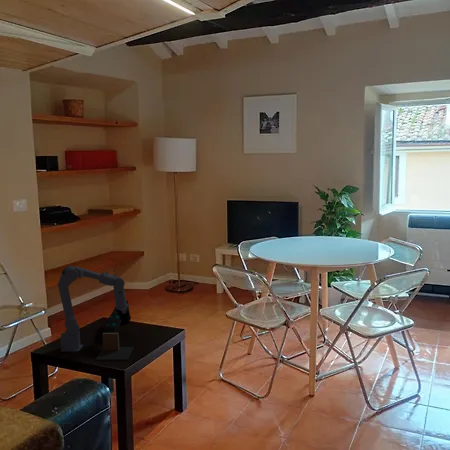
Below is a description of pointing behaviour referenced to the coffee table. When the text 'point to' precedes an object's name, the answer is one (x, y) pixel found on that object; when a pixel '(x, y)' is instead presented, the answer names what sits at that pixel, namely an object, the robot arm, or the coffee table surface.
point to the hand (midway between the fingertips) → (123, 321)
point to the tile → (110, 341)
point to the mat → (115, 354)
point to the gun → (115, 321)
